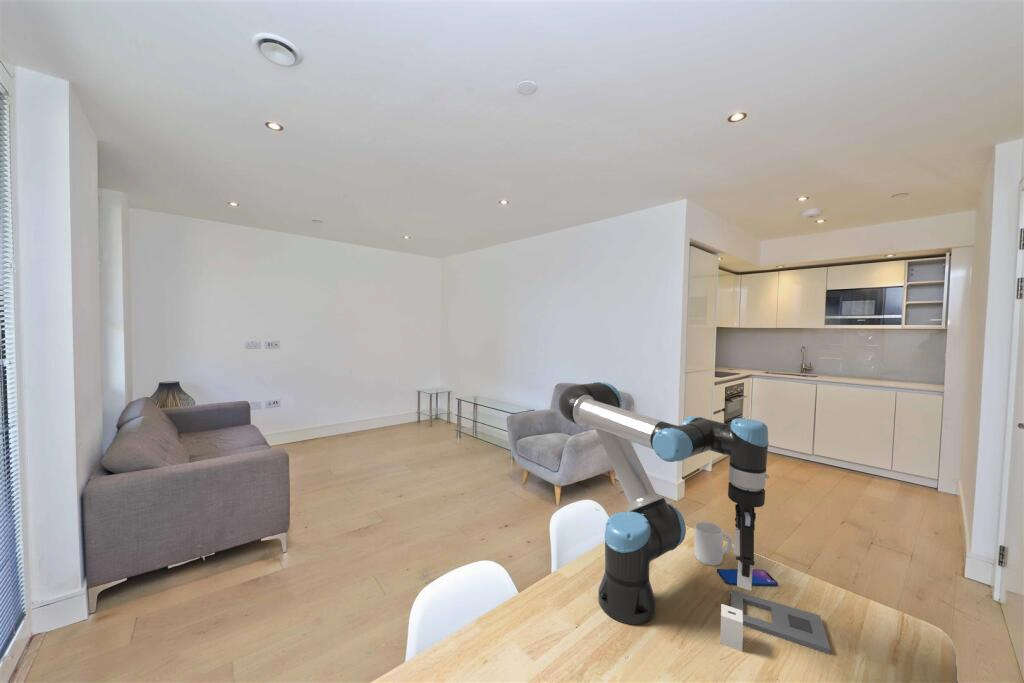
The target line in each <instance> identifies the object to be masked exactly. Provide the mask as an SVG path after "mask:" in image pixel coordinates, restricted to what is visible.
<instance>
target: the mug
mask: <svg viewBox="0 0 1024 683" xmlns="http://www.w3.org/2000/svg"><path fill="white" fill-rule="evenodd" d="M724 538H726V540H727V543H726V547H724ZM732 540H733V539H732V536H731V535H730V534H729V533H728V532H726V531H724V530H723V528H722V527H721V526H719V525H717V524H716V523H713V522H709V521H698V522H696V523H694V541H693V545H694V546H693V553H694V558H696V560H698V562H700V563H702V564H705V565H707V566H712V567H713V566H718V565H720V564H721V563H723V558H724V557H723V555H725V554H727V553H729V552H730V550H732V547H733V541H732ZM721 565H722V564H721Z"/></svg>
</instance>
